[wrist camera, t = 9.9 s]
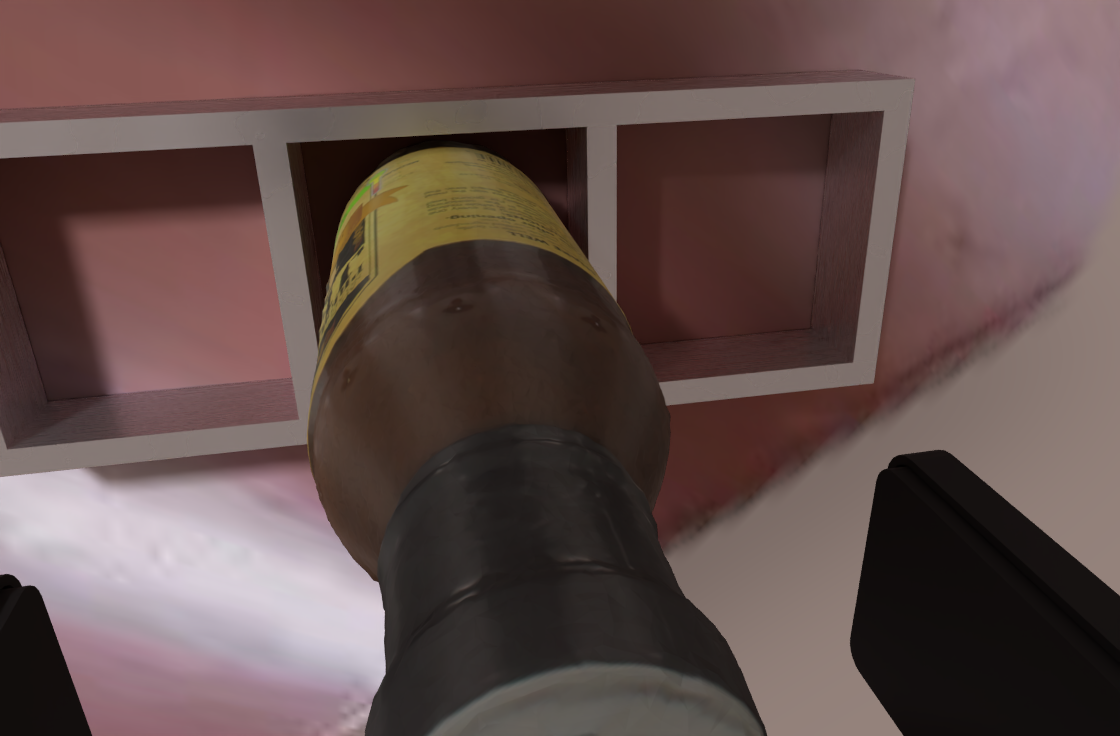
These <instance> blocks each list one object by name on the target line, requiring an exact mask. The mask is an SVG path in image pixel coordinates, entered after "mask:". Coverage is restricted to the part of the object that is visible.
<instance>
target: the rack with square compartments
mask: <svg viewBox="0 0 1120 736" xmlns="http://www.w3.org/2000/svg"><path fill="white" fill-rule="evenodd" d="M914 84H915V79H913V78H907V77H901V76H895V75H888V74H882V73H876V72H869V71H863V70H852V71H830V72H808V73H787V74H765V75H743V76H721V77H700V78H678V79H656V80H634V81H613V82H591V83H569V84H547V85H526V86H504V87H482V88H461V89H439V90H417V91H395V92H374V93H352V94H330V95H308V96H287V97H265V98H243V99H221V100H200V101H178V102H156V103H134V104H113V105H91V106H69V107H47V108H26V109H4V110H0V158H17V157H35V156H54V155H72V154H91V153H109V152H128V151H146V150H165V149H183V148H202V147H220V146H239V145H253V151H254V157H255V162H256V168H257V174H258V180H259V186H260V192H261V198H262V204H263V210H264V215H265V221H266V227H267V233H268V239H269V245H270V251H271V257H272V263H273V269H274V274H275V280H276V286H277V292H278V298H279V304H280V310H281V316H282V322H283V327H284V333H285V339H286V345H287V351H288V357H289V363H290V369H291V375H292V378H288V379H278V380H267V381H257V382H246V383H236V384H225V385H215V386H204V387H194V388H183V389H173V390H163V391H152V392H142V393H131V394H121V395H110V396H100V397H89V398H79V399H68V400H58V401H48V400H47V397H46V394H45V390H44V387H43V384H42V380H41V377H40V374H39V371H38V367H37V364H36V361H35V357H34V354H33V351H32V347H31V344H30V341H29V337H28V334H27V331H26V327H25V324H24V321H23V317H22V314H21V311H20V308H19V304H18V301H17V298H16V294H15V291H14V288H13V284H12V281H11V278H10V274H9V271H8V268H7V264H6V261H5V258H4V254H3V251H2V248H1V245H0V477H4V476H14V475H23V474H32V473H42V472H51V471H60V470H70V469H79V468H88V467H98V466H107V465H116V464H126V463H135V462H144V461H154V460H163V459H172V458H182V457H191V456H200V455H210V454H219V453H228V452H238V451H247V450H256V449H265V448H275V447H284V446H293V445H303V444H307V427H308V414H309V407H310V397H311V389H312V384H313V379H314V374H315V370H316V364H317V357H318V349H319V341H320V339H319V330H320V327H321V324H322V311H323V309H324V300H323V293H322V286H321V279H320V272H319V266H318V259H317V252H316V245H315V238H314V232H313V225H312V218H311V211H310V204H309V198H308V191H307V184H306V177H305V170H304V164H303V157H302V150H301V143H300V142H312V141H331V140H349V139H368V138H386V137H405V136H423V135H442V134H460V133H479V132H497V131H516V130H534V129H553V128H566V155H567V198H568V232H569V234H570V235H571V236H572V238H573V239H574V241H575V242H576V244H577V245H578V246H579V248H580V249H581V251H582V252H583V254H584V255H585V256H586V258H587V259H588V261H589V262H590V264H591V265H592V267H593V268H594V270H595V271H596V272H597V274H598V275H599V277H600V278H601V280H602V281H603V283H604V284H605V286H606V287H607V289H608V290H609V292H610V293H611V295H612V296H613V298H614V299H615V300H616V302H617V125H627V124H645V123H664V122H682V121H700V120H719V119H737V118H756V117H774V116H793V115H811V114H830V113H832V118H831V128H830V138H829V148H828V158H827V168H826V178H825V188H824V198H823V208H822V218H821V228H820V238H819V248H818V258H817V268H816V278H815V288H814V298H813V308H812V318H811V328H810V329H802V330H791V331H781V332H770V333H760V334H750V335H739V336H729V337H718V338H708V339H697V340H687V341H676V342H666V343H655V344H645V345H641V347H642V349H643V351H644V352H645V354H646V356H647V357H648V358H649V361H650V363H651V366H652V368H653V370H654V372H655V375H656V377H657V380H658V382H659V385H660V388H661V390H662V393H663V395H664V398H665V403H666V405H676V404H685V403H694V402H704V401H713V400H722V399H732V398H741V397H750V396H760V395H769V394H778V393H788V392H797V391H806V390H816V389H825V388H834V387H844V386H853V385H862V384H872V383H874V378H875V370H876V363H877V356H878V348H879V341H880V334H881V326H882V319H883V312H884V304H885V297H886V290H887V282H888V275H889V268H890V260H891V253H892V246H893V238H894V231H895V224H896V216H897V209H898V201H899V194H900V187H901V179H902V172H903V165H904V157H905V150H906V143H907V135H908V128H909V121H910V113H911V106H912V99H913V91H914Z"/></svg>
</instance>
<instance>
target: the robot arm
mask: <svg viewBox="0 0 1120 736" xmlns="http://www.w3.org/2000/svg"><path fill="white" fill-rule="evenodd" d="M850 647H851V653H852V657H853V659H854V662H855V665H856V667H857V669H858V670H859V672H860V674H861V675H862V676H863V678H864V679H865V681H866V682H867V683H868V685H869V687H870V688H871V689H872V691H873V692H874V694H875V695H876V697H877V698H878V700H879V701H880V702H881V704H882V705H883V707H884V708H885V710H886V711H887V712H888V714H889V715H890V717H891V718H892V720H893V721H894V723H895V724H896V725H897V727H898V728H899V730H900V731H901V732H902V734H903V736H1120V596H1119V595H1118V594H1117V593H1116V592H1114V591H1113V590H1112V589H1111V588H1110V587H1108V586H1107V585H1106V584H1105V583H1104V582H1103V581H1101V580H1100V579H1099V578H1098V577H1097V576H1096V575H1094V574H1093V573H1092V572H1091V571H1090V570H1088V569H1087V568H1086V567H1085V566H1084V565H1082V564H1081V563H1080V562H1079V561H1078V560H1077V559H1075V558H1074V557H1073V556H1072V555H1071V554H1069V553H1068V552H1067V551H1066V550H1065V549H1063V548H1062V547H1061V546H1060V545H1059V544H1058V543H1056V542H1055V541H1054V540H1053V539H1052V538H1050V537H1049V536H1048V535H1047V534H1046V533H1044V532H1043V531H1042V530H1041V529H1039V527H1037V526H1036V525H1035V524H1034V523H1032V522H1031V521H1030V520H1029V519H1028V518H1026V517H1025V516H1024V515H1023V514H1022V513H1021V512H1020V511H1018V510H1017V509H1016V508H1015V507H1013V506H1012V505H1011V504H1010V503H1009V502H1008V501H1006V500H1005V499H1004V498H1003V497H1002V496H1000V495H999V494H998V493H997V492H996V491H995V490H993V489H992V488H991V487H990V486H989V485H987V484H986V483H985V482H984V481H983V480H981V479H980V478H979V477H978V476H977V475H975V474H974V473H973V472H972V471H971V470H969V469H968V468H967V467H966V466H965V465H964V464H962V463H961V462H960V461H959V460H958V459H957V458H955V457H954V456H953V455H952V454H950V453H948V452H946V451H944V450H934V451H926V452H919V453H911V454H904V455H898V456H896V457H894V458H893V459H892V460H891V462H890V463H889V466H888V469H884V470H883V471H881V472H880V473H879V475H878V478H877V481H876V487H875V493H874V499H873V505H872V511H871V517H870V522H869V528H868V534H867V541H866V547H865V553H864V559H863V565H862V571H861V577H860V583H859V589H858V595H857V602H856V607H855V613H854V619H853V625H852V631H851V637H850ZM0 736H92V734H91V731H90V728H89V725H88V723H87V720H86V717H85V714H84V712H83V709H82V706H81V703H80V701H79V698H78V695H77V692H76V690H75V687H74V684H73V681H72V678H71V676H70V673H69V670H68V667H67V665H66V662H65V659H64V656H63V654H62V651H61V648H60V645H59V643H58V640H57V637H56V634H55V632H54V629H53V626H52V623H51V620H50V618H49V615H48V612H47V609H46V607H45V604H44V601H43V598H42V596H41V594H40V592H39V590H38V589H37V588H36V587H35V586H23V587H22V586H21V584H20V582H19V580H18V579H17V578H16V577H15V576H13V575H9V574H4V575H0Z"/></svg>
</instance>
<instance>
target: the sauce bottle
mask: <svg viewBox="0 0 1120 736" xmlns="http://www.w3.org/2000/svg"><path fill="white" fill-rule="evenodd" d="M326 291H327V295H326V298H325V306H324V309H323V311H322V324H321V327H320V330H319V339H320V341H319V349H318V357H317V364H316V370H315V374H314V379H313V384H312V389H311V397H310V407H309V414H308V427H307V446H308V455H309V461H310V467H311V472H312V475H313V478H314V480H315V483H316V489H317V491H318V494H319V499H320V501H321V503H322V505H323V507H324V509H325V512H326V515H327V518H328V521H329V522H330V524H331V526H332V528H333V529H334V531H335V533H336V535H337V536H338V537H339V538H340V540H341V542H342V544H343V545H344V546H345V548H346V549H347V550H348V552H349V553H350V555H351V556H352V558H353V559H354V560H355V561H356V562H357V563H358V564H359V565H360V566H361V567H362V568H363V569H364V570H365V571H366V572H367V573H368V574H369V575H370V577H371V578H372V579H373V580H374V581H377V582H379V585H380V590H381V594H382V601H383V608H384V610H385V637H384V647H385V660H386V675H385V676H384V678H383V680H382V683H381V685H380V687H379V689H378V691H377V693H376V695H375V696H374V699H373V702H372V706H371V710H370V713H369V717H368V721H367V725H366V729H365V736H767V733H766V730H765V726H764V724H763V722H762V720H761V718H760V716H759V713H758V711H757V709H756V706H755V703H754V701H753V699H752V696H751V694H750V691H749V689H748V686H747V684H746V681H745V679H744V676H743V673H742V671H741V669H740V667H739V666H738V664H737V661H736V659H735V657H734V655H733V653H732V651H731V649H730V647H729V645H728V643H727V641H726V639H725V638H724V637H723V636H722V635H721V633H720V632H719V631H718V629H717V628H716V627H715V625H714V624H713V623H712V622H711V621H710V620H709V619H708V618H707V617H706V616H705V615H704V614H703V613H702V612H701V611H700V610H699V609H698V608H696V607H695V606H694V605H693V604H692V603H691V602H690V600H688V599H686V598H685V596H684V594H683V593H682V591H681V589H680V587H679V586H678V583H677V581H676V578H675V576H674V574H673V572H672V569H671V567H670V565H669V562H668V561H667V559H666V557H665V556H664V554H663V551H662V549H661V546H660V544H659V541H658V534H657V524H656V522H655V520H654V517H653V515H652V511H653V509H654V506H655V503H656V500H657V497H658V494H659V491H660V489H661V485H662V482H663V478H664V474H665V469H666V464H667V460H668V455H669V445H670V433H671V432H670V413H669V411H668V409H667V407H666V403H665V398H664V395H663V393H662V390H661V388H660V385H659V382H658V380H657V377H656V375H655V372H654V370H653V368H652V366H651V363H650V361H649V358H648V357H647V356H646V354H645V352H644V351H643V349H642V347H641V345H640V344H639V342H638V341H637V340H636V339H635V337H634V335H633V333H632V330H631V327H630V325H629V323H628V321H627V318H626V316H625V314H624V312H623V311H622V309H621V308H620V306H619V305H618V303H617V302H616V300H615V299H614V298H613V296H612V295H611V293H610V292H609V290H608V289H607V287H606V286H605V284H604V283H603V281H602V280H601V278H600V277H599V275H598V274H597V272H596V271H595V270H594V268H593V267H592V265H591V264H590V262H589V261H588V259H587V258H586V256H585V255H584V254H583V252H582V251H581V249H580V248H579V246H578V245H577V244H576V242H575V241H574V239H573V238H572V236H571V235H570V234H569V232H568V231H567V229H566V228H565V226H564V225H563V223H562V222H561V220H560V219H559V217H558V216H557V214H556V213H555V211H554V210H553V209H552V207H551V206H550V204H549V203H548V201H547V200H546V198H545V197H544V196H543V194H542V193H541V191H540V190H539V188H538V187H537V186H536V185H535V184H534V183H533V182H532V181H531V180H530V179H529V178H528V177H527V176H526V175H525V174H524V173H523V172H521V171H520V170H519V169H517V168H516V167H514V166H513V165H511V164H510V163H509V161H508V160H507V159H505V158H504V157H502V156H501V155H499V154H498V153H497V152H495V151H493V150H491V149H489V148H487V147H485V146H481V145H473V144H464V143H460V142H455V141H445V140H433V141H426V142H422V143H419V144H416V145H414V146H412V147H406V148H402V149H400V150H398V151H396V152H395V153H393V154H392V155H391V156H389V157H388V158H386V159H385V160H383V161H382V162H381V163H380V164H379V165H378V166H377V168H376V169H375V170H374V171H373V172H372V173H371V174H370V175H369V176H367V177H366V178H365V179H364V180H363V181H362V183H361V184H360V185H359V186H358V187H357V189H356V191H355V193H354V195H353V196H352V198H351V199H350V201H349V202H348V204H347V206H346V208H345V210H344V213H343V215H342V218H341V221H340V224H339V228H338V232H337V236H336V241H335V248H334V254H333V261H332V268H331V273H330V278H329V281H328V283H327V286H326Z"/></svg>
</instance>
